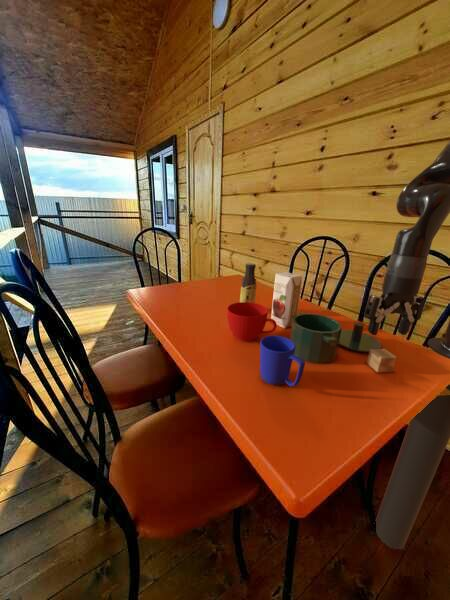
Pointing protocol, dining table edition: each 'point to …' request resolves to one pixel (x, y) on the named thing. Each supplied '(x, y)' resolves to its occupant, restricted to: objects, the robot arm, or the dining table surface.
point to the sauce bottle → (248, 284)
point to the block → (381, 360)
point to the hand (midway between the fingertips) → (387, 333)
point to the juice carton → (286, 298)
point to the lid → (358, 339)
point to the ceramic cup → (248, 320)
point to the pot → (315, 337)
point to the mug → (278, 360)
